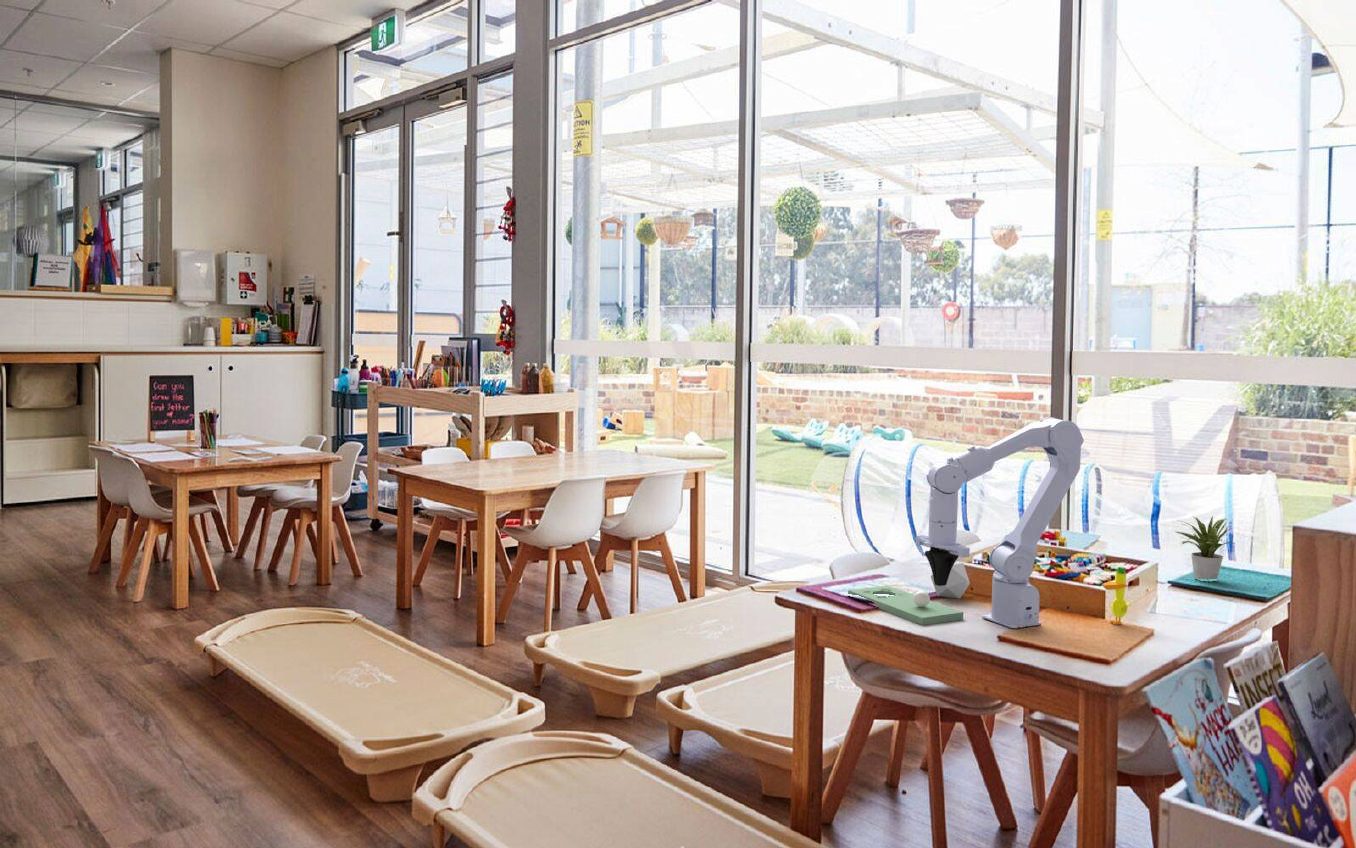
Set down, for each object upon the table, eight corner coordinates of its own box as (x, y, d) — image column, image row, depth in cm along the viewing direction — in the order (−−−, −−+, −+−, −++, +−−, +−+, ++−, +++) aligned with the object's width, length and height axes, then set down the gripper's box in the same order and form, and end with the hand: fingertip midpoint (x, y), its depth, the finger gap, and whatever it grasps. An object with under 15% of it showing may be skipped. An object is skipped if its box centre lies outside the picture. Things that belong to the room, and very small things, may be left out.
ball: (933, 608, 232) (933, 592, 231) (920, 610, 230) (920, 593, 230) (922, 604, 235) (922, 588, 234) (909, 606, 233) (910, 590, 233)
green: (963, 619, 229) (963, 612, 229) (922, 625, 224) (922, 618, 224) (886, 591, 252) (887, 585, 252) (847, 596, 247) (848, 590, 247)
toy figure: (1107, 627, 224) (1109, 570, 223) (1095, 622, 227) (1098, 566, 226) (1134, 624, 226) (1137, 568, 225) (1123, 620, 229) (1125, 564, 228)
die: (973, 597, 251) (954, 560, 255) (979, 586, 243) (959, 548, 247) (940, 610, 250) (922, 572, 254) (946, 600, 242) (926, 561, 246)
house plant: (1191, 570, 279) (1194, 507, 278) (1247, 580, 268) (1250, 515, 267) (1164, 577, 270) (1167, 512, 269) (1221, 588, 259) (1224, 521, 258)
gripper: (905, 516, 230) (903, 579, 231) (951, 528, 217) (948, 594, 218) (931, 514, 233) (929, 576, 234) (978, 525, 220) (975, 591, 221)
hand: (940, 585), depth 226 cm, fingers closed
